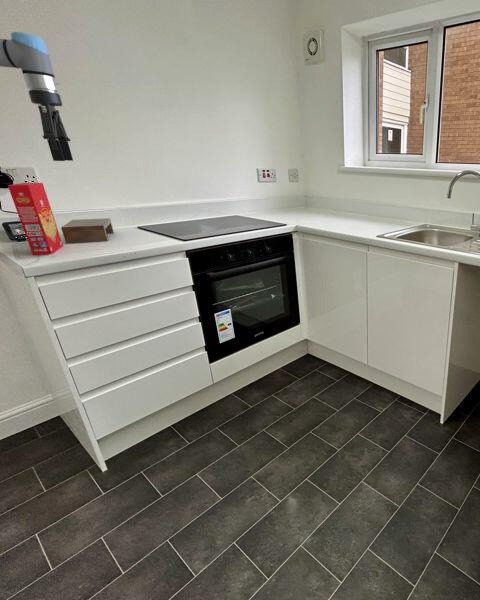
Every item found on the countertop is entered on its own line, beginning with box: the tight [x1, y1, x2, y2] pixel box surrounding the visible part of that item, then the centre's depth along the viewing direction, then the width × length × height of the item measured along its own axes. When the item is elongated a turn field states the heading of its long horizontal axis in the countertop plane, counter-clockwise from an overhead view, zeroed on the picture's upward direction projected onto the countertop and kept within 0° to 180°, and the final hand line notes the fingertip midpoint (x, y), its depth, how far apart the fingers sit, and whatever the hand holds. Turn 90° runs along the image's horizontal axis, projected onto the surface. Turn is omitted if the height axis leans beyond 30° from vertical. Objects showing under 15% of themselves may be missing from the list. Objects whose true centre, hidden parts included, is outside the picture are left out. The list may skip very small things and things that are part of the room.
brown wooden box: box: [60, 217, 115, 245], centre depth 160 cm, size 14×22×7 cm, turn 31°
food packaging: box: [7, 182, 64, 256], centre depth 133 cm, size 15×5×25 cm, turn 29°
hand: (63, 160), depth 122 cm, fingers open, 13 cm apart
